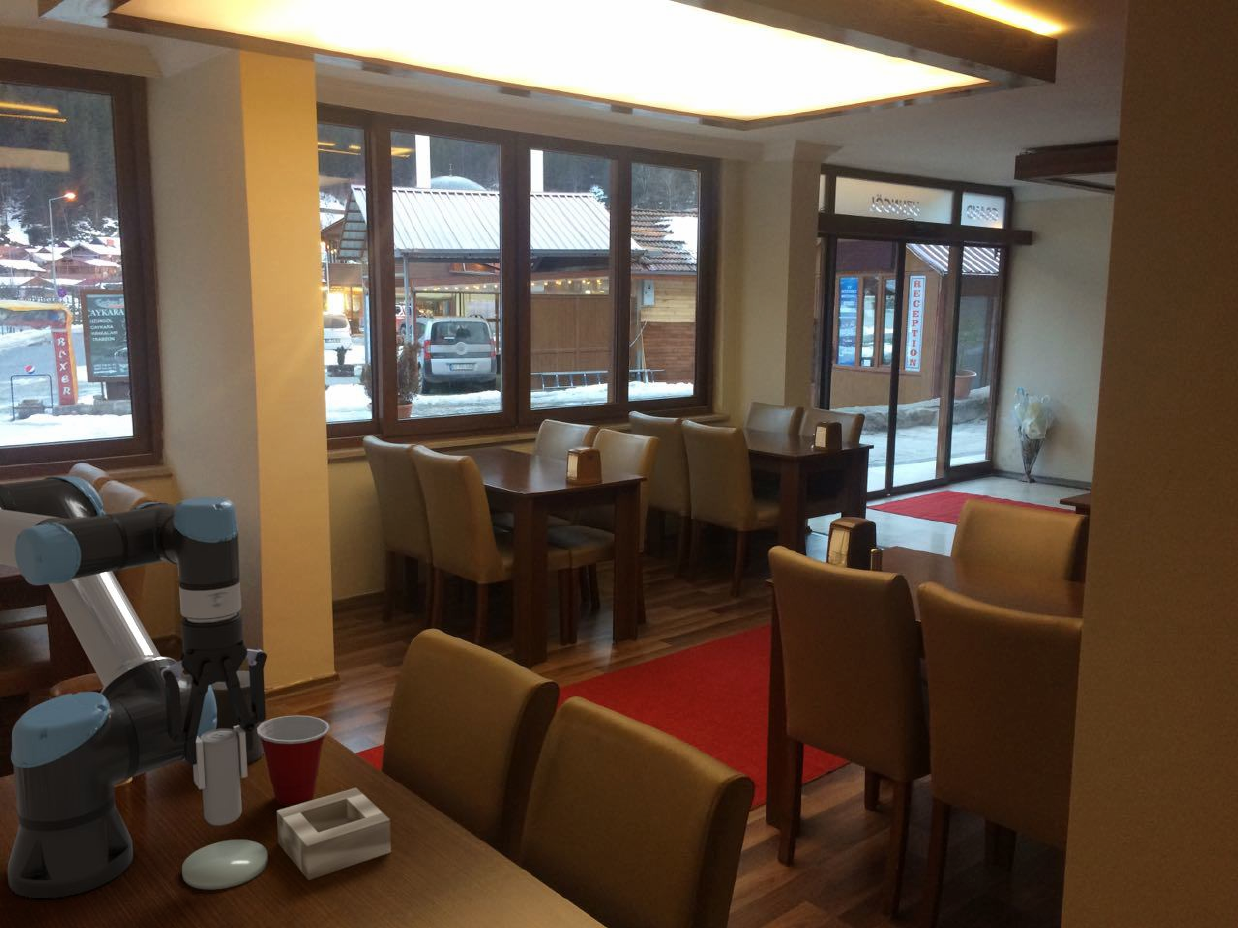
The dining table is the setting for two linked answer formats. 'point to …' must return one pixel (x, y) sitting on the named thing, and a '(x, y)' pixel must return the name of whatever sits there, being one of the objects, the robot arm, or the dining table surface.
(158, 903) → the dining table surface
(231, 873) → the pale green cabochon
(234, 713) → the pillar candle
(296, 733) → the plastic cup
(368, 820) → the birch sleeve
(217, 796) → the beverage can
